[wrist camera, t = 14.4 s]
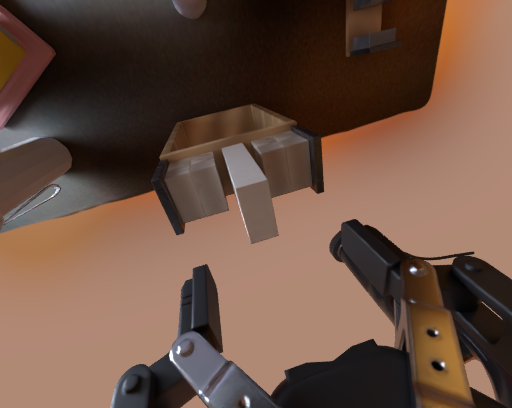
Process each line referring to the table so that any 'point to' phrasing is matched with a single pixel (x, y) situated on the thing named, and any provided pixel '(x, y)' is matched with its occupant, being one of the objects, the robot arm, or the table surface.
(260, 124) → the birch stand
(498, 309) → the robot arm
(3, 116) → the yellow napkin holder
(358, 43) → the grey rack
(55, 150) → the water bottle
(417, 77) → the table surface
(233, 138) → the wooden book holder
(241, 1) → the table surface
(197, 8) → the energy drink
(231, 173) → the white book
